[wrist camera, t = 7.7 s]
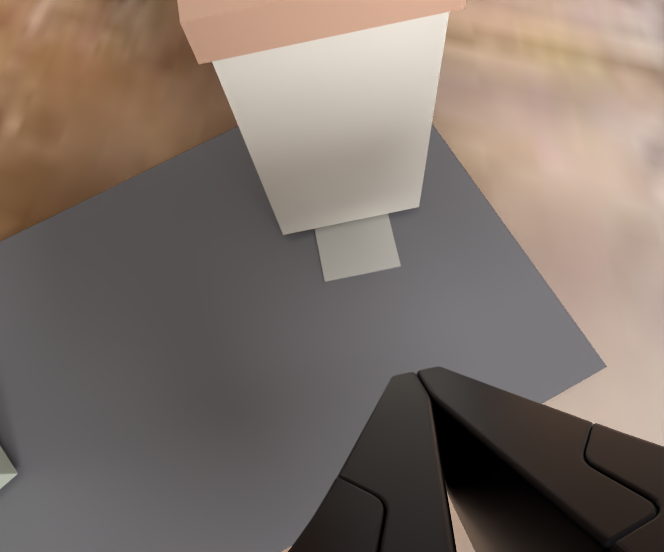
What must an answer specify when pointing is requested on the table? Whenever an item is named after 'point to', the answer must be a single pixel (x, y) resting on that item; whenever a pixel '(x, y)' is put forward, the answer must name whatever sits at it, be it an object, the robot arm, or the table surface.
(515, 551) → the robot arm
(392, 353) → the board
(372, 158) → the white lidded canister
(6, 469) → the sage green canister
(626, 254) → the table surface
